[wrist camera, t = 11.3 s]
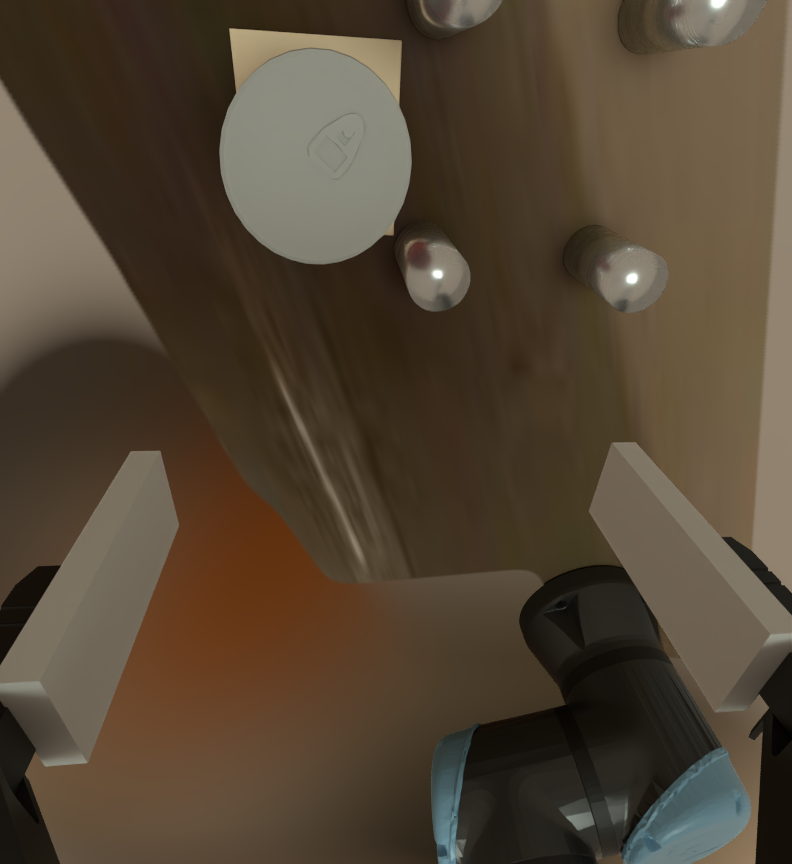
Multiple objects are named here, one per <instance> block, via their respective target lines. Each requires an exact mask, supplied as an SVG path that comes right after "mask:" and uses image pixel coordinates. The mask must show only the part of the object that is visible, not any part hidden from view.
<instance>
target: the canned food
mask: <svg viewBox="0 0 792 864" xmlns="http://www.w3.org/2000/svg"><path fill="white" fill-rule="evenodd" d="M219 152H220V166H221V175H222V179H223V183H224V186H225V190H226V194H227V196H228V198H229V201H230V203H231V205H232V207H233V209H234V212H235V213H236V215H237V216H238V218H239V219H240V221H241V222H242V223H243V225H244V226H245V228H246V229H247V230H248V231H249V232H250V233H251V234H252V235H253V236H254V237H255V238H256V239H257V240H258V241H259V242H260V243H261V244H263V245H264V246H266V247H267V248H269V249H270V250H271V251H273V252H274V253H277V254H279V255H281V256H283V257H285V258H288V259H290V260H294V261H298V262H302V263H306V264H328V263H335V262H341V261H343V260H346V259H349V258H351V257H354V256H356V255H358V254H360V253H361V252H363V251H365V250H366V249H368V248H369V247H371V246H372V245H373V244H374V243H375V242H376V241H378V240H379V239H380V238H381V237H382V236H383V235H384V234H385V233H386V231H387V230H388V229H389V227H390V226H391V225H392V223H393V222H394V221H395V219H396V217H397V215H398V213H399V211H400V209H401V207H402V205H403V203H404V200H405V196H406V193H407V190H408V186H409V181H410V173H411V164H412V162H411V145H410V138H409V134H408V130H407V126H406V121H405V118H404V116H403V114H402V112H401V109H400V107H399V105H398V102H397V100H396V99H395V97H394V96H393V94H392V93H391V91H390V90H389V88H388V87H387V86H386V84H385V83H384V82H383V81H382V80H381V79H380V78H379V77H378V76H377V75H376V74H375V73H374V72H373V71H372V70H371V69H370V68H369V67H367V66H366V65H364V64H363V63H361V62H359V61H358V60H356V59H355V58H353V57H351V56H349V55H346V54H343V53H340V52H337V51H334V50H331V49H322V48H311V47H310V48H303V49H297V50H291V51H288V52H285V53H283V54H281V55H278V56H276V57H273V58H271V59H269V60H268V61H267V62H265V63H264V64H263V65H261V66H260V67H259V68H257V69H256V70H255V71H253V72H252V74H251V75H250V76H249V77H248V78H247V79H246V81H245V82H244V83H243V84H242V85H241V86H240V88H239V89H238V91H237V93H236V95H235V97H234V99H233V100H232V102H231V104H230V106H229V108H228V111H227V114H226V117H225V120H224V124H223V127H222V132H221V141H220V151H219Z"/></svg>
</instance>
